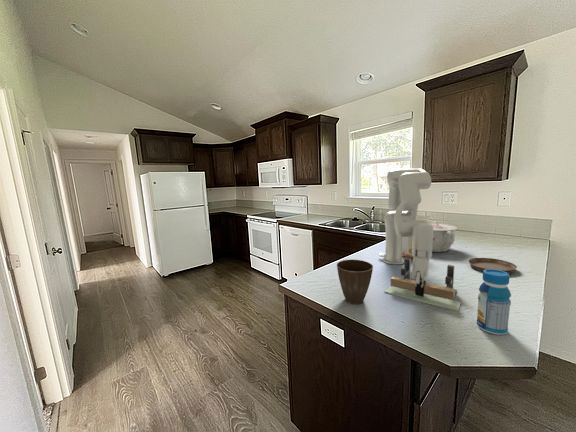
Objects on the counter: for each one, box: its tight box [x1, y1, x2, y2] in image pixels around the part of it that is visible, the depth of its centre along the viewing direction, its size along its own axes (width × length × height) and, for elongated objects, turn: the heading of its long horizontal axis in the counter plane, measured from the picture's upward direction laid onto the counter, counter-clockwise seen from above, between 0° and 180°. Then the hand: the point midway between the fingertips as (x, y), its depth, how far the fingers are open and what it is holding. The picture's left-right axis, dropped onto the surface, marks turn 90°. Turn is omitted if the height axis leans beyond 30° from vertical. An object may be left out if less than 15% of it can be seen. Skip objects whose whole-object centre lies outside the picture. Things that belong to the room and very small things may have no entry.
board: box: [384, 285, 461, 312], centre depth 107 cm, size 28×7×1 cm, turn 50°
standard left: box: [400, 257, 412, 280], centre depth 121 cm, size 5×9×12 cm, turn 140°
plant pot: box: [336, 259, 374, 305], centre depth 106 cm, size 15×15×16 cm
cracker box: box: [402, 237, 414, 259], centre depth 162 cm, size 14×6×21 cm, turn 39°
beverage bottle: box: [476, 269, 512, 336], centre depth 83 cm, size 8×8×20 cm
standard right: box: [444, 264, 458, 295], centre depth 109 cm, size 5×9×12 cm, turn 140°
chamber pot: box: [428, 220, 459, 253], centre depth 173 cm, size 28×28×21 cm
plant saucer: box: [468, 257, 518, 274], centre depth 136 cm, size 21×21×3 cm
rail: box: [390, 275, 456, 301], centre depth 106 cm, size 24×4×4 cm, turn 50°
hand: (420, 293), depth 107 cm, fingers closed on rail, 3 cm apart
